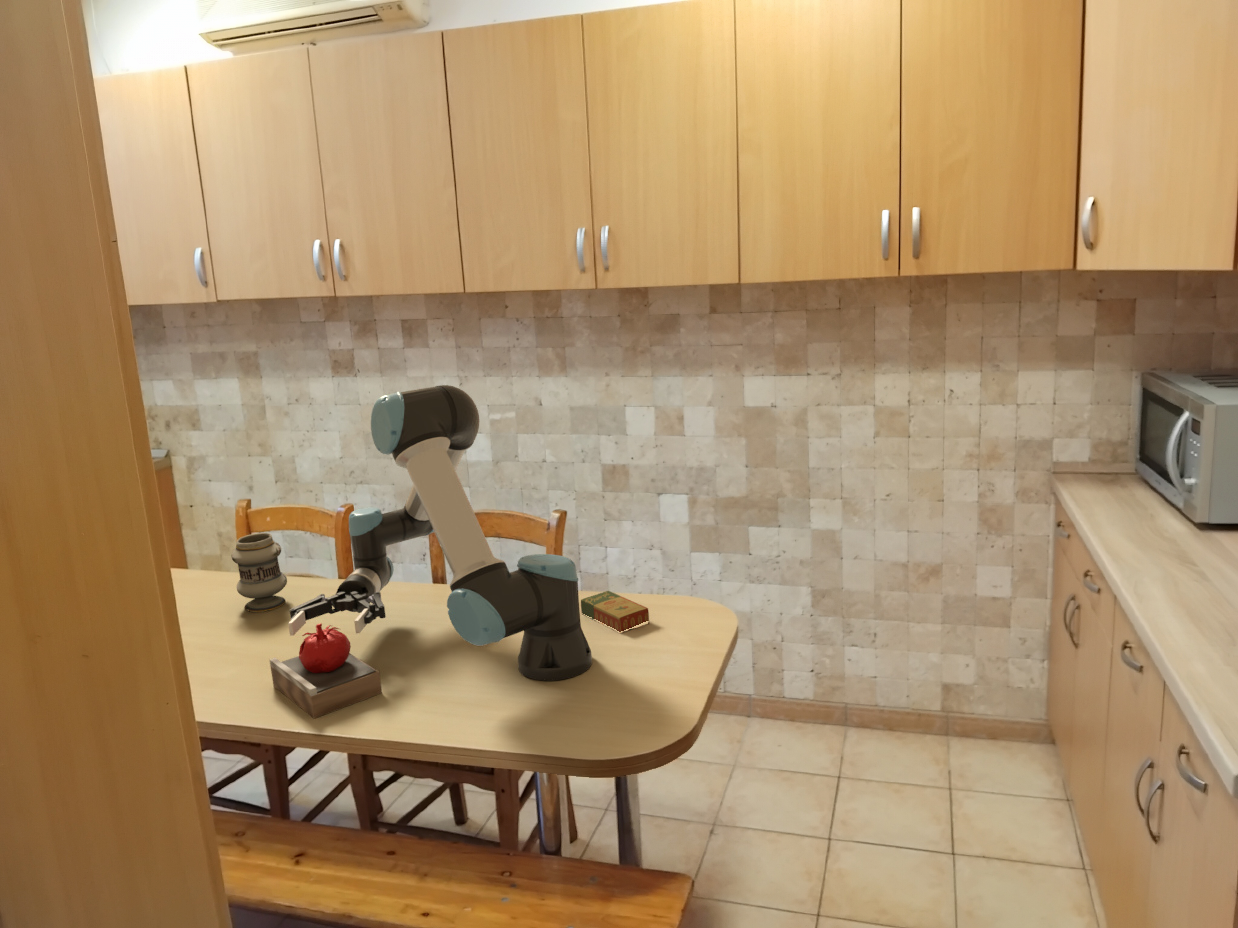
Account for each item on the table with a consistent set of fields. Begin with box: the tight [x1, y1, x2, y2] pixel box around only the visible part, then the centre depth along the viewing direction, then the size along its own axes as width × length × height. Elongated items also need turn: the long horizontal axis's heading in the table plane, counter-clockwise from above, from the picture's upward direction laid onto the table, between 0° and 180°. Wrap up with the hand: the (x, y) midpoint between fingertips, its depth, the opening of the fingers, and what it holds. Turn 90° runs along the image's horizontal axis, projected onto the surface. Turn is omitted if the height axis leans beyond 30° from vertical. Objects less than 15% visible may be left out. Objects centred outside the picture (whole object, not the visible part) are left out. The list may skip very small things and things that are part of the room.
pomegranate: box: [298, 622, 352, 673], centre depth 188 cm, size 10×10×9 cm
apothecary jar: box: [230, 532, 288, 613], centre depth 238 cm, size 12×12×18 cm
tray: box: [269, 652, 383, 719], centre depth 189 cm, size 20×14×6 cm
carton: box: [580, 590, 650, 632], centre depth 217 cm, size 8×16×4 cm, turn 35°
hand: (323, 628), depth 190 cm, fingers open, 13 cm apart
